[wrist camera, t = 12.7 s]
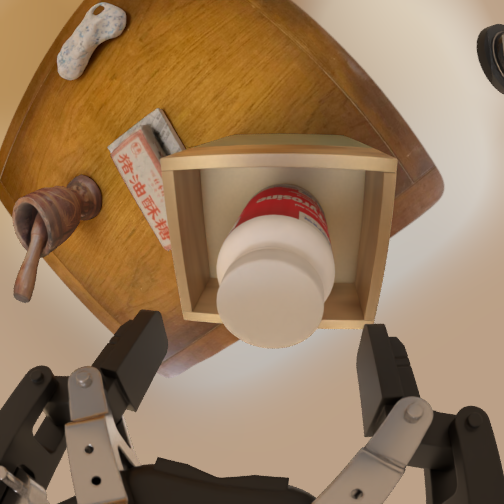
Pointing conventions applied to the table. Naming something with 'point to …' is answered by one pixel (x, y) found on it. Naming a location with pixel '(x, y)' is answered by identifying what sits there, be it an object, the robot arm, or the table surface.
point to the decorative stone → (89, 39)
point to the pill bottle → (276, 269)
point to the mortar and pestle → (50, 224)
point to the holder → (272, 173)
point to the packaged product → (147, 167)
